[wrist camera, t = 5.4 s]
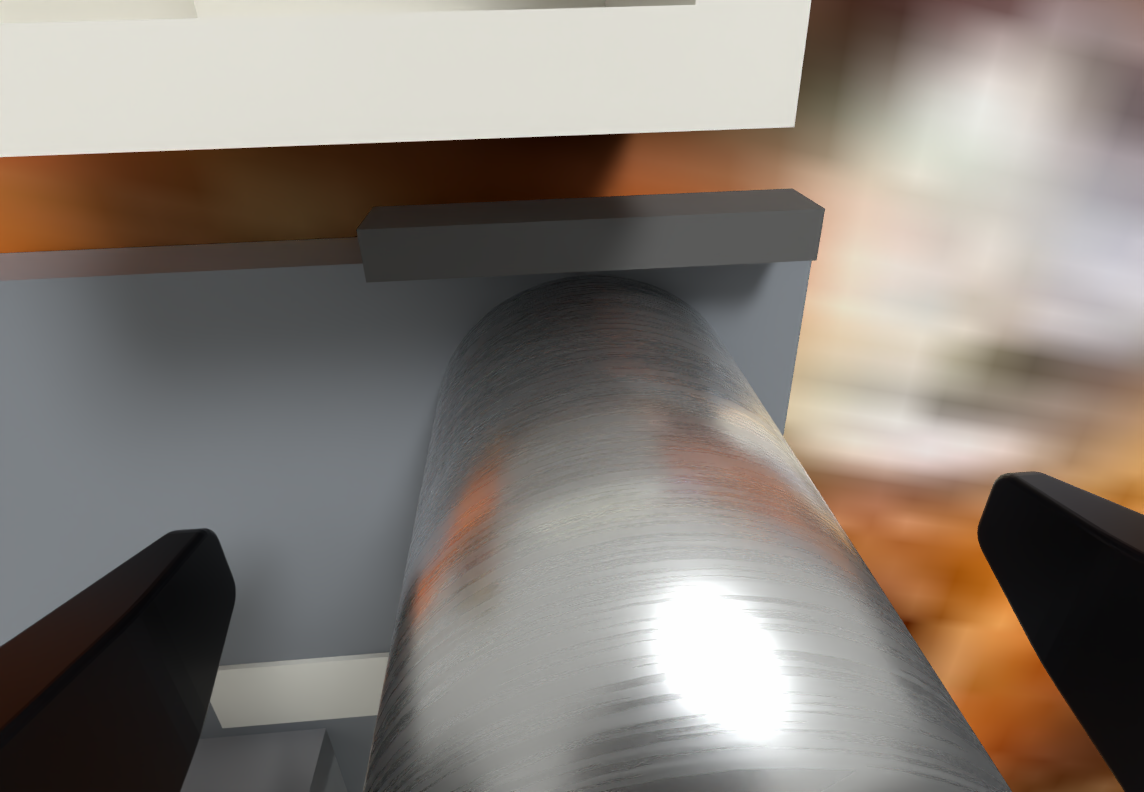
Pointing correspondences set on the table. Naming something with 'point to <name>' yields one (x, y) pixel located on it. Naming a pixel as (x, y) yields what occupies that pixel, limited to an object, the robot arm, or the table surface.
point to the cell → (640, 581)
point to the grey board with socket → (316, 422)
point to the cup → (387, 70)
